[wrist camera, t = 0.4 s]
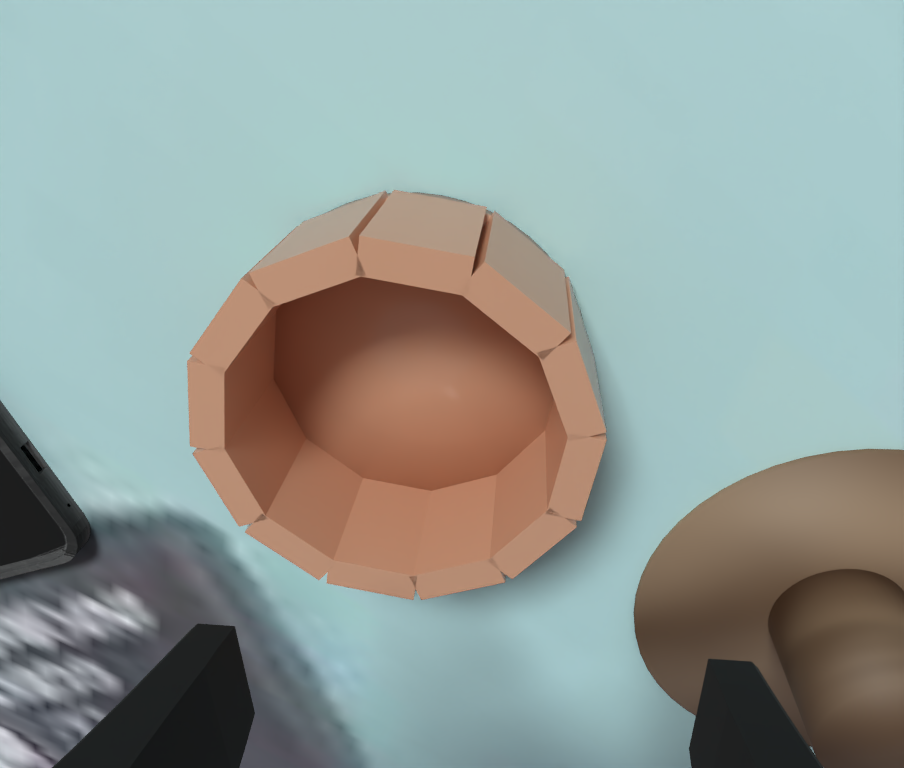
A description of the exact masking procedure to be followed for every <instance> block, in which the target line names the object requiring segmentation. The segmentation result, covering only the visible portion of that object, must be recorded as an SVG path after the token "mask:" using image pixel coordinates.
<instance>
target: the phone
mask: <svg viewBox="0 0 904 768" xmlns="http://www.w3.org/2000/svg"><path fill="white" fill-rule="evenodd" d="M23 445H25V446H26V448H27V449H28V450H29V452H30V453H31V454H32V456H33V457H34V458H35V460H36V461H37V463H38V464H39V465H40V467H41V468H42V470H41V471H40V472H38V471H37V470H36V468H35V467H34V466H33V464H32V463H31V462H30V460H29V459H28V458H27V456H26V455H25V454H24V452H23V451H22V450H21V448H20V447H21V446H23ZM68 503H69V504H70V505H71V506H70V507H68V506H67V504H68ZM90 532H91V531H90V525H89V522H88V520H87V518H86V516H85V515H84V513H83V512H82V510H81V509H80V508H79V506H78V505H77V504H76V502H75V501H74V500H73V498H72V497H71V495H70V494H69V493H68V491H67V490H66V489H65V487H64V486H63V485H62V483H61V482H60V481H59V479H58V478H57V477H56V475H55V474H54V472H53V471H52V470H51V468H50V467H49V466H48V464H47V463H46V462H45V460H44V459H43V458H42V456H41V455H40V454H39V452H38V451H37V449H36V448H35V447H34V445H33V444H32V443H31V441H30V440H29V439H28V437H27V436H26V435H25V433H24V432H23V430H22V429H21V428H20V426H19V425H18V424H17V422H16V421H15V420H14V418H13V417H12V416H11V414H10V413H9V412H8V410H7V409H6V407H5V406H4V405H3V403H2V402H1V401H0V579H4V578H8V577H12V576H16V575H20V574H24V573H28V572H32V571H36V570H40V569H44V568H48V567H52V566H56V565H60V564H64V563H66V562H68V561H70V560H72V558H73V557H74V556H75V555H76V554H77V553H78V551H79V550H80V549H81V548H82V547H83V545H84V544H85V543H86V542H87V540H88V539H89V536H90Z"/></svg>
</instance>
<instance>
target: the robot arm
mask: <svg viewBox="0 0 904 768" xmlns="http://www.w3.org/2000/svg"><path fill="white" fill-rule="evenodd" d="M254 714H255V712H254V708H253V703H252V699H251V695H250V690H249V686H248V682H247V677H246V673H245V669H244V664H243V660H242V656H241V651H240V647H239V643H238V638H237V634H236V630H235V626H223V625H209V624H197V625H196V626H195V627H193V628H192V629H191V630H190V631H189V632H188V633H187V634H186V635H185V636H184V637H183V638H182V639H181V640H180V641H179V642H178V644H177V645H176V646H175V647H174V648H173V649H172V650H171V651H170V652H169V653H168V654H167V655H166V656H165V657H164V658H163V659H162V660H161V661H160V662H159V663H158V664H157V665H156V666H155V667H154V668H153V669H152V670H151V671H150V672H149V673H148V674H147V675H146V676H145V677H144V678H143V680H142V681H141V682H140V683H139V684H138V685H137V686H136V687H135V688H134V689H133V690H132V691H131V692H130V693H129V694H128V695H127V696H126V697H125V698H124V699H123V700H122V701H121V702H120V703H119V704H118V705H117V706H116V707H115V708H114V709H113V710H112V711H111V712H110V713H109V714H108V715H107V716H106V717H105V718H104V719H103V720H101V721H100V722H99V723H98V724H97V725H96V726H95V727H94V728H93V729H92V730H91V731H90V732H89V733H88V734H87V735H86V736H85V737H84V738H83V739H82V740H81V741H80V742H79V743H78V744H77V745H76V746H75V747H74V748H73V749H72V750H71V751H70V752H69V753H68V754H66V755H65V756H64V757H63V758H62V759H61V760H60V761H59V762H58V763H57V764H56V765H54V766H53V767H52V768H239V766H240V763H241V760H242V757H243V753H244V750H245V746H246V743H247V739H248V736H249V732H250V729H251V725H252V722H253V718H254ZM689 751H690V759H691V766H692V768H824V767H823V766H822V765H821V763H820V762H819V760H818V759H817V757H816V756H815V755H814V753H813V752H812V750H811V749H810V747H809V746H808V744H807V743H806V741H805V740H804V738H803V737H802V735H801V734H800V732H799V731H798V729H797V728H796V726H795V725H794V723H793V722H792V720H791V719H790V717H789V716H788V714H787V713H786V711H785V710H784V708H783V707H782V705H781V704H780V702H779V701H778V699H777V697H776V696H775V694H774V693H773V691H772V690H771V688H770V686H769V685H768V683H767V682H766V680H765V678H764V677H763V675H762V674H761V672H760V670H759V669H758V667H757V666H756V665H755V664H754V663H753V662H751V661H736V660H722V659H708V662H707V667H706V672H705V676H704V681H703V686H702V691H701V695H700V700H699V705H698V709H697V714H696V719H695V723H694V728H693V733H692V738H691V742H690V747H689Z"/></svg>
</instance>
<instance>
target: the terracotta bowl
mask: <svg viewBox="0 0 904 768" xmlns="http://www.w3.org/2000/svg"><path fill="white" fill-rule="evenodd" d="M486 208H487V207H484V206H479V205H474V204H471V203H469V202H466V201H462V200H458V199H454V198H450V197H446V196H443V195H435V194H426V193H418V192H415V193H408V192H403V191H398V190H394V191H393V192H392V193H389V194H387V193H386V191H383V192H380V193H378V194H375V195H373V196H369V197H366V198H363V199H359V200H356V201H353V202H349V203H346V204H344V205H342V206H340V207H337V208H335V209H333V210H331V211H329V212H327V213H325V214H322V215H320V216H317V217H314V218H312V219H309V220H306V221H304V222H302V223H301V224H300V225H299V226H297V227H296V228H295V229H294V230H293V231H292V232H291V233H289V234H288V235H287V236H286V237H285V238H284V239H283V240H282V241H281V242H280V243H279V244H278V245H277V246H276V247H274V248H273V249H272V250H271V251H270V252H269V253H268V254H267V255H266V256H265V257H264V258H263V259H262V260H260V261H259V262H258V263H257V264H256V265H255V266H254V267H253V268H252V269H251V270H250V271H249V272H248V273H247V274H245V275H244V276H243V277H242V278H241V280H240V281H239V282H238V284H237V285H236V287H235V288H234V290H233V291H232V293H231V294H230V295H229V297H228V298H227V300H226V301H225V303H224V304H223V306H222V307H221V308H220V310H219V311H218V313H217V314H216V316H215V317H214V319H213V320H212V322H211V323H210V324H209V326H208V327H207V329H206V330H205V332H204V333H203V335H202V336H201V337H200V339H199V340H198V342H197V343H196V345H195V346H194V348H193V349H192V350H191V352H190V354H191V355H193V356H192V357H191V358H190V359H189V360H188V361H187V368H188V399H189V430H190V446H192V447H197V448H196V450H195V451H194V452H193V455H194V457H195V458H196V460H197V461H198V463H199V465H200V466H201V468H202V469H203V471H204V472H205V474H206V476H207V477H208V479H209V480H210V482H211V483H212V485H213V487H214V488H215V490H216V491H217V493H218V494H219V496H220V498H221V499H222V501H223V502H224V504H225V505H226V507H227V508H228V510H229V512H230V513H231V515H232V516H233V518H234V519H235V521H236V523H237V524H238V526H243V525H247V524H249V526H248V527H247V529H246V531H245V533H247V534H248V535H250V536H251V537H253V538H255V539H256V540H258V541H259V542H261V543H262V544H264V545H265V546H267V547H268V548H270V549H272V550H273V551H275V552H276V553H278V554H279V555H281V556H282V557H284V558H286V559H287V560H289V561H290V562H292V563H293V564H295V565H296V566H298V567H299V568H301V569H303V570H304V571H306V572H307V573H309V574H310V575H312V576H313V577H315V578H316V579H318V580H320V579H321V578H322V577H323V576H324V575H325V574H326V573H327V572H328V575H327V583H328V584H333V585H338V586H344V587H349V588H354V589H359V590H364V591H369V592H375V593H380V594H385V595H390V596H395V597H400V598H406V599H411V600H413V599H414V594H415V589H416V591H417V593H418V595H419V596H420V598H421V600H424V599H428V598H433V597H438V596H443V595H448V594H452V593H457V592H462V591H467V590H472V589H476V588H481V587H486V586H491V585H496V584H500V583H505V577H506V575H507V576H508V577H510V578H511V579H513V578H515V577H516V576H517V575H518V574H519V573H521V572H522V571H523V570H524V569H526V568H527V567H528V566H529V565H531V564H532V563H533V562H534V561H536V560H537V559H538V558H539V557H541V556H542V555H543V554H544V553H545V552H547V551H548V550H549V549H550V548H552V547H553V546H554V545H555V544H557V543H558V542H559V541H560V540H562V539H563V538H564V537H565V536H567V535H568V534H569V533H570V532H571V531H573V530H574V529H575V528H576V527H577V525H576V520H579V521H581V520H582V517H583V514H584V510H585V507H586V504H587V501H588V498H589V495H590V491H591V488H592V485H593V482H594V479H595V476H596V473H597V469H598V466H599V463H600V460H601V457H602V454H603V451H604V447H605V444H606V441H607V439H606V433H605V432H607V431H606V425H605V419H604V413H603V407H602V401H601V395H600V389H599V383H598V377H597V371H596V365H595V359H594V354H593V351H592V348H591V345H590V341H589V338H588V335H587V332H586V329H585V326H584V323H583V319H582V315H581V311H580V309H579V306H578V304H577V301H576V298H575V295H574V292H573V289H572V285H571V282H570V279H569V277H566V278H565V273H564V269H563V268H561V267H560V266H559V265H558V264H557V263H555V262H554V261H553V260H552V259H551V258H550V257H549V256H548V254H547V253H546V252H545V251H544V250H543V249H542V248H541V247H540V246H539V245H538V244H537V243H536V242H535V241H534V240H532V239H531V238H530V237H529V236H528V235H527V234H525V233H524V232H523V231H521V230H520V229H518V228H517V227H516V226H514V225H513V224H512V223H510V222H509V221H507V220H505V219H504V218H503V217H501V216H500V215H499V214H498V213H497V212H496V211H494V212H493V213H492V212H491V211H489V210H486Z"/></svg>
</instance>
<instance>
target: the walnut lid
mask: <svg viewBox="0 0 904 768" xmlns="http://www.w3.org/2000/svg"><path fill="white" fill-rule="evenodd" d="M634 623H635V633H636V638H637V642H638V646H639V650H640V654H641V656H642V658H643V660H644V662H645V664H646V666H647V669H648V670H649V672H650V673H651V675H652V676H653V677H654V679H655V680H656V682H657V683H658V685H659V686H660V687H661V688H662V689H663V690H664V691H665V692H666V693H667V694H668V695H669V696H670V697H671V698H672V699H673V700H674V701H676V702H677V703H678V704H679V705H681V706H682V707H683V708H685V709H686V710H687V711H689V712H691V713H692V714H694V715H696V714H697V709H698V705H699V700H700V695H701V691H702V686H703V681H704V676H705V672H706V667H707V662H708V659H722V660H736V661H751V662H753V663H754V664H755V665H756V666H757V667H758V669H759V670H760V672H761V674H762V675H763V677H764V678H765V680H766V682H767V683H768V685H769V686H770V688H771V690H772V691H773V693H774V694H775V696H776V697H777V699H778V701H779V702H780V704H781V705H782V707H783V708H784V710H785V711H786V713H787V714H788V716H789V717H790V719H791V720H792V722H793V723H794V725H795V726H796V728H797V729H798V731H799V732H800V734H801V735H802V737H803V738H804V740H805V741H806V743H807V744H808V746H812V747H813V750H814V753H815V755H816V757H817V759H818V760H819V762H820V763H821V765H822V766H823V767H824V768H904V450H889V449H862V450H849V451H837V452H831V453H825V454H820V455H814V456H809V457H804V458H800V459H797V460H793V461H790V462H786V463H783V464H779V465H776V466H773V467H770V468H768V469H765V470H763V471H760V472H758V473H755V474H753V475H750V476H747V477H745V478H744V479H742V480H740V481H738V482H736V483H734V484H732V485H730V486H728V487H726V488H724V489H722V490H721V491H719V492H718V493H716V494H715V495H713V496H712V497H710V498H709V499H707V500H705V501H704V502H702V503H701V504H699V505H698V506H697V507H696V508H695V509H693V510H692V511H691V512H690V513H689V514H687V515H686V516H685V517H684V518H683V519H682V520H680V521H679V522H678V523H677V524H676V525H675V527H674V528H673V529H672V530H671V531H670V532H669V533H668V534H667V535H666V536H665V537H664V539H663V540H662V541H661V543H660V544H659V546H658V547H657V548H656V550H655V551H654V553H653V554H652V556H651V557H650V559H649V561H648V563H647V565H646V567H645V569H644V571H643V573H642V576H641V579H640V582H639V585H638V589H637V592H636V597H635V606H634Z"/></svg>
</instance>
